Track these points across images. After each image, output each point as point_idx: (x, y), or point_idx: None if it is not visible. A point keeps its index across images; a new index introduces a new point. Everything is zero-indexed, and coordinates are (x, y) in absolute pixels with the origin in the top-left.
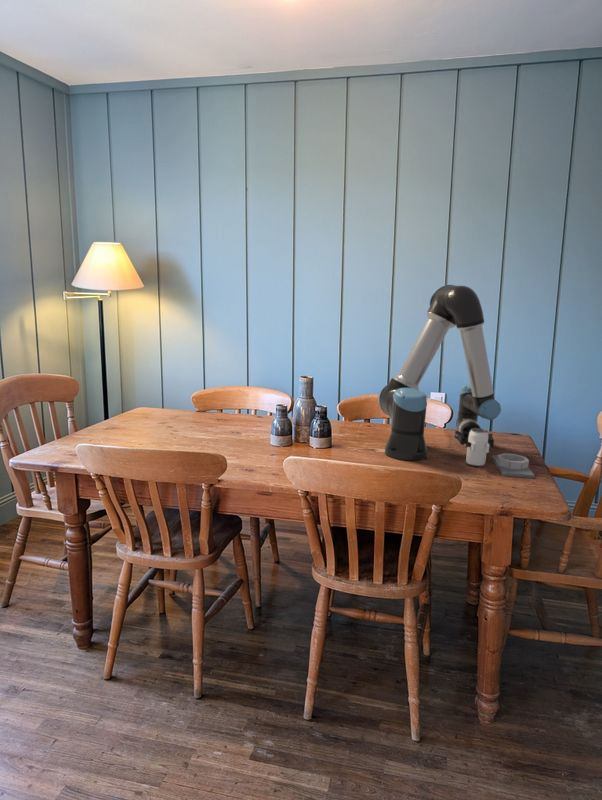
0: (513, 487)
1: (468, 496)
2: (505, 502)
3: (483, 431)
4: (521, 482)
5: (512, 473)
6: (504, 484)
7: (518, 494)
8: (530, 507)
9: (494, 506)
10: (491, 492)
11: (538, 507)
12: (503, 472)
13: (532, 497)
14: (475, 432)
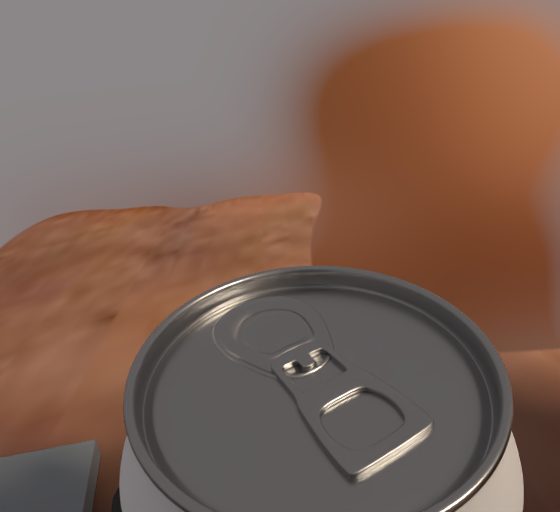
0: (107, 317)
1: (296, 217)
2: (184, 221)
3: (218, 387)
4: (22, 389)
5: (21, 454)
6: (141, 332)
7: (115, 271)
8: (115, 220)
9: (222, 201)
10: (219, 255)
11: (89, 225)
12: (89, 448)
13: (68, 268)
14: (357, 288)
